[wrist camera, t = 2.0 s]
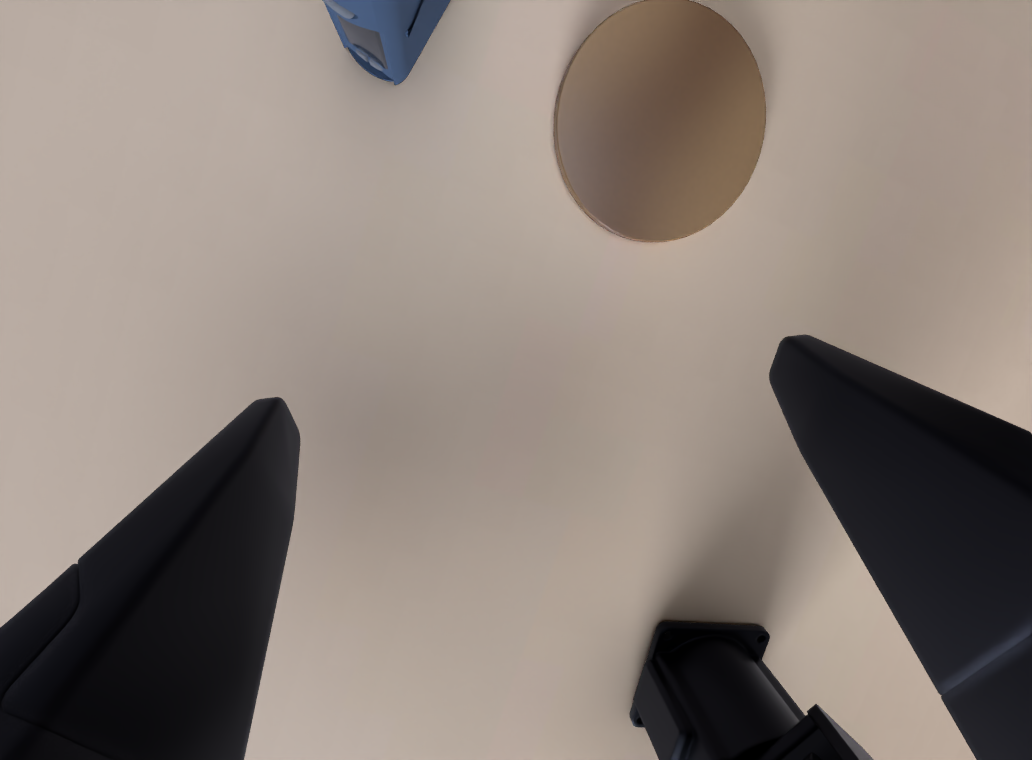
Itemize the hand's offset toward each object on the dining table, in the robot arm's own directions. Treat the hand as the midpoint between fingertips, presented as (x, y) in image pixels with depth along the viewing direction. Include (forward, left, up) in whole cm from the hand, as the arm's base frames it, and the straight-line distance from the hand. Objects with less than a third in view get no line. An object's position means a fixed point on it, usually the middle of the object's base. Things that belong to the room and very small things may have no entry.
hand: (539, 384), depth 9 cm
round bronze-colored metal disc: (-6, -8, -12) cm, 15 cm away
